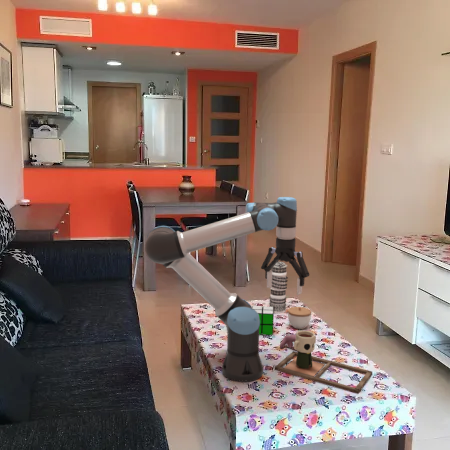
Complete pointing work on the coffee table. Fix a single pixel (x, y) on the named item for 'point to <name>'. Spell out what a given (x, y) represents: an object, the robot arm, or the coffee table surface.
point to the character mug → (304, 348)
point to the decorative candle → (278, 287)
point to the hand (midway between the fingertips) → (283, 290)
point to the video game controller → (288, 341)
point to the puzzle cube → (265, 319)
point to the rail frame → (312, 371)
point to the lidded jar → (299, 317)
